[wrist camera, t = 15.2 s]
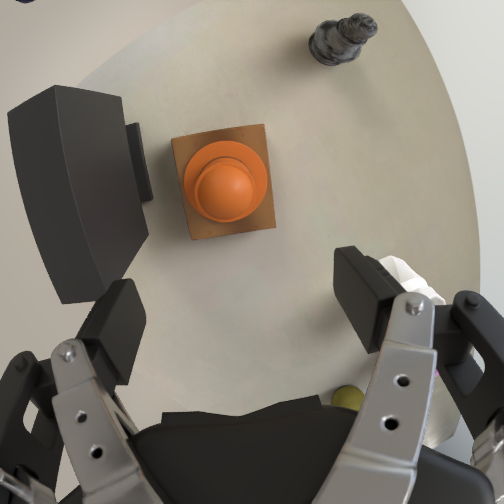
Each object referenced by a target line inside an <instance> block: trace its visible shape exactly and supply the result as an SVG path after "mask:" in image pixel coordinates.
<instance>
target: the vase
mask: <svg viewBox="0 0 504 504" xmlns="http://www.w3.org/2000/svg"><path fill="white" fill-rule="evenodd" d="M377 261H379V262H380V263H381V264H382V265H383V266H384V267H385V269H386V270H387V271H388V272H389V273H390V275H392V276H393V277H394V278H395V279H396V280H397V281H398V282H399V283H400V284H401V285H402V287H403V288H404V289H405V290H406V291H407V292H417V293H421V294H423V295H425V296H427V297H428V298H430V299H431V300H432V302H433V303H434V305H446V303H445V300H444V299H443V298H441V297H440V296H439V295H438V294H437V293H436V292H435V291H434V290H433V289H432V287H428V286H427V283H426V281H425V280H424V279H423V278H422V277H420V276H419V275H418V274H416V273H415V272H414V271H413V270H412V269H411V268H410V267H409V266H408V265H407V264H406V263H405V262H404V261H403V260H402V259H399V258H396V257H393V256H388V257H385V258H382V259H379V260H377Z"/></svg>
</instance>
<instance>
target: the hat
mask: <svg viewBox="0 0 504 504" xmlns="http://www.w3.org/2000/svg"><path fill="white" fill-rule="evenodd" d="M266 189H267V173H266V169H265V166H264V164H263V162H262V160H261V159H260V157H259V156H258V155H257V154H256V153H255V152H254V151H253V150H252V149H250V148H249V147H247V146H246V145H243V144H241V143H238V142H234V141H218V142H214V143H211V144H209V145H207V146H205V147H203V148H202V149H200V150H199V151H198V152H197V153H196V154H195V155H194V156H193V157H192V158H191V160H190V161H189V163H188V165H187V168H186V170H185V174H184V190H185V193H186V196H187V199H188V201H189V202H190V204H191V205H192V207H193V208H194V209H195V210H196V211H197V212H198V213H200V214H201V215H202V216H204V217H206V218H208V219H211V220H214V221H217V222H233V221H236V220H239V219H242V218H244V217H246V216H248V215H249V214H251V213H252V212H253V211H254V210H256V208H257V207H258V206H259V205H260V203H261V202H262V200H263V198H264V196H265V193H266Z"/></svg>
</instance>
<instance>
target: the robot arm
mask: <svg viewBox="0 0 504 504" xmlns="http://www.w3.org/2000/svg"><path fill="white" fill-rule="evenodd" d="M333 287H334V292H335V296H336V298H337V300H338V301H339V303H340V305H341V307H342V308H343V310H344V312H345V314H346V315H347V317H348V319H349V321H350V322H351V324H352V326H353V328H354V329H355V331H356V333H357V335H358V337H359V338H360V340H361V342H362V344H363V346H364V348H365V349H366V351H367V353H368V354H370V353H373V352H377V351H379V352H380V353H379V356H378V359H377V362H376V365H375V368H374V371H373V374H372V377H371V380H370V383H369V386H368V388H367V391H366V394H365V396H364V399H363V402H362V404H361V407H360V409H359V412H358V411H356V410H353V409H350V408H346V407H341V406H335V405H321V402H320V399H319V396H318V395H314V396H309V397H305V398H300V399H295V400H289V401H284V402H279V403H276V404H274V405H271V406H268V407H266V408H263V409H260V410H257V411H255V412H252V413H249V414H246V415H243V416H228V415H220V414H213V413H206V412H200V411H194V412H163V413H162V420H161V423H159V424H156V425H153V426H150V427H148V428H146V429H143V430H142V431H140V432H139V430H138V429H137V427H136V426H135V424H134V423H133V421H132V420H131V418H130V416H129V414H128V413H127V411H126V409H125V407H124V406H123V404H122V402H121V400H120V398H119V397H118V395H117V393H116V392H115V391H114V390H115V387H116V385H128V383H129V379H130V375H131V372H132V368H133V365H134V361H135V358H136V354H137V351H138V348H139V345H140V341H141V338H142V335H143V332H144V329H145V325H146V313H145V310H144V307H143V304H142V302H141V299H140V297H139V294H138V291H137V289H136V286H135V283H134V281H133V280H132V279H131V278H128V279H121V280H114V281H113V282H112V284H111V285H110V287H109V288H108V290H107V292H106V293H105V294H103V295H102V296H101V297H100V298H99V299H98V300H97V301H96V302H95V304H94V306H93V307H92V309H91V311H90V312H89V314H88V316H87V318H86V319H85V321H84V323H83V325H82V327H81V328H80V331H79V332H78V334H77V336H76V337H75V339H68V340H66V341H64V342H62V343H60V344H59V345H58V346H57V347H56V348H55V349H54V350H53V352H52V354H51V358H50V359H46V360H42V361H38V360H37V359H36V357H35V356H34V354H33V353H32V352H30V351H24V352H21V353H19V354H17V355H16V356H15V357H14V358H13V359H12V360H11V361H10V363H9V365H8V367H7V369H6V371H5V372H4V374H3V376H2V378H1V380H0V504H497V503H498V502H499V501H501V500H502V499H503V498H504V318H503V317H502V316H501V315H500V314H499V313H498V312H497V310H496V309H495V308H493V306H492V305H491V304H490V303H489V302H488V301H487V300H486V299H485V298H484V297H483V296H481V295H480V294H478V293H476V292H473V291H467V290H465V291H460V292H458V293H457V294H456V295H455V297H454V300H453V303H452V305H434V303H433V302H432V300H431V299H430V298H428V297H427V296H425V295H423V294H421V293H417V292H407V291H406V290H405V289H404V288H403V287H402V285H401V284H400V283H399V282H398V281H397V280H396V279H395V278H394V277H393V276H392V275H390V273H389V272H388V271H387V270H386V269H385V267H384V266H383V265H382V264H381V263H380V262H379V261H377V260H375V259H373V258H371V257H369V256H364V255H363V254H362V253H361V252H360V251H359V250H358V249H357V248H356V247H355V246H348V247H341V248H336V249H335V251H334V276H333ZM473 346H474V347H475V349H476V350H477V351H478V353H479V354H480V355H481V357H482V358H483V360H484V363H485V371H484V373H483V372H482V370H481V369H480V367H479V366H478V364H477V363H476V361H475V360H474V358H473V357H472V356H471V354H470V351H471V349H472V347H473ZM436 370H437V371H438V373H439V375H440V376H441V378H442V380H443V382H444V383H445V385H446V387H447V389H448V391H449V392H450V394H451V396H452V398H453V400H454V401H455V403H456V405H457V407H458V409H459V411H460V413H461V415H462V417H463V419H464V421H465V423H466V425H467V427H468V428H469V431H470V433H471V435H472V437H473V439H474V444H473V447H472V456H471V459H470V463H471V466H470V465H468V464H465V463H463V462H460V461H458V460H456V459H453V458H451V457H449V456H446V455H444V454H442V453H440V452H437V451H435V450H433V449H431V448H429V447H427V446H425V445H422V442H423V438H424V434H425V430H426V425H427V421H428V416H429V411H430V405H431V400H432V393H433V387H434V379H435V371H436ZM29 400H31V402H32V403H33V404H34V405H35V406H36V407H37V408H38V409H39V410H38V413H37V416H36V419H35V422H34V425H33V428H32V431H31V433H29V432H28V431H27V430H26V428H25V426H24V424H23V416H24V413H25V411H26V408H27V405H28V403H29ZM64 445H65V447H66V451H67V453H68V456H69V458H70V461H71V464H72V467H73V469H74V472H75V473H76V476H77V479H78V481H79V483H80V485H78V486H77V487H76V488H75V489H74V490H73V491H72V492H71V493H69V494H68V495H67V496H66V497H65V498H63V499H62V500H61V501H60V502H59V503H58V502H56V498H55V488H56V482H57V476H58V471H59V465H60V461H61V456H62V451H63V447H64Z"/></svg>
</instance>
